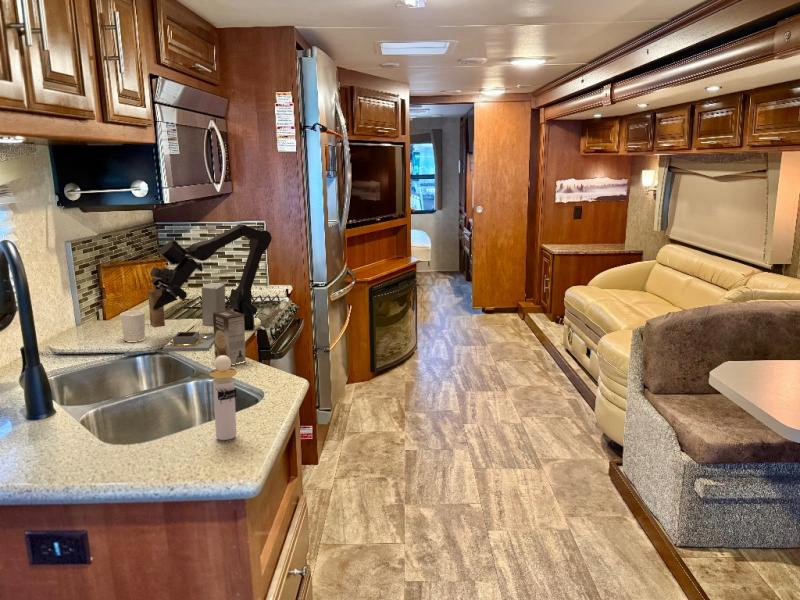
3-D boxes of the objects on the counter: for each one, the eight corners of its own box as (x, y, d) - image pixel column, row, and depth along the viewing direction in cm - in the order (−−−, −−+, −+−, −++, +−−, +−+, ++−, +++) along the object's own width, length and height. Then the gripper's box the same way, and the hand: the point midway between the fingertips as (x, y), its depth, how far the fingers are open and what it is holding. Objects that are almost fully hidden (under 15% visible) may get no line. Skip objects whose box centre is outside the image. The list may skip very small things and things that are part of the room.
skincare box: (211, 320, 241) (209, 282, 237) (227, 321, 240) (226, 283, 236) (201, 325, 233) (199, 286, 229) (218, 326, 232) (216, 287, 228)
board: (218, 336, 219) (218, 333, 219) (208, 350, 201) (208, 347, 201) (176, 336, 217) (176, 333, 217) (162, 351, 200) (162, 348, 199)
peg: (160, 323, 208) (158, 289, 205) (164, 325, 205) (162, 290, 203) (150, 325, 206) (147, 290, 203) (154, 327, 203) (151, 291, 200)
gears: (217, 334, 217) (217, 326, 217) (208, 347, 202) (208, 338, 201) (177, 334, 216) (177, 326, 215) (165, 348, 200) (165, 339, 199)
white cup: (150, 337, 215) (148, 311, 213) (139, 343, 208) (137, 316, 205) (130, 336, 216) (127, 310, 214) (117, 342, 208) (115, 315, 206)
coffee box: (213, 360, 191) (211, 312, 188) (231, 356, 196) (229, 309, 192) (229, 367, 185) (227, 317, 182) (246, 362, 190) (245, 314, 186)
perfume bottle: (209, 436, 137) (205, 354, 133) (233, 430, 140) (230, 350, 136) (218, 446, 132) (214, 361, 128) (243, 439, 136) (239, 356, 132)
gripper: (154, 255, 210) (124, 289, 205) (175, 261, 196) (144, 298, 192) (177, 274, 217) (149, 308, 212) (199, 282, 203) (169, 318, 198)
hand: (152, 307), depth 203 cm, fingers closed on peg, 4 cm apart
